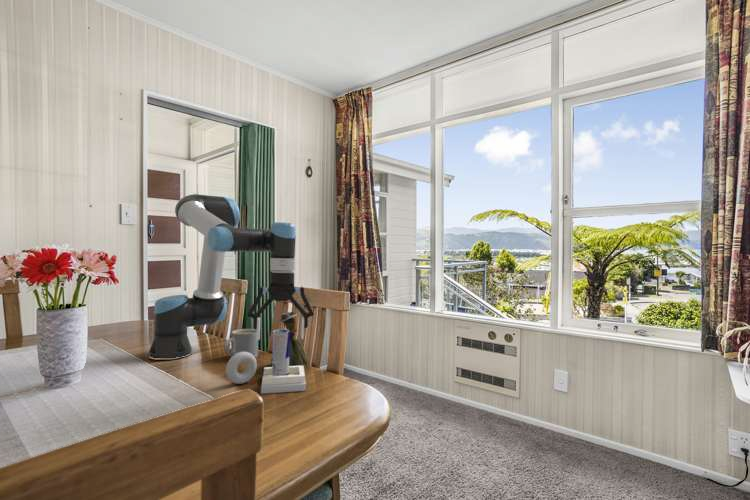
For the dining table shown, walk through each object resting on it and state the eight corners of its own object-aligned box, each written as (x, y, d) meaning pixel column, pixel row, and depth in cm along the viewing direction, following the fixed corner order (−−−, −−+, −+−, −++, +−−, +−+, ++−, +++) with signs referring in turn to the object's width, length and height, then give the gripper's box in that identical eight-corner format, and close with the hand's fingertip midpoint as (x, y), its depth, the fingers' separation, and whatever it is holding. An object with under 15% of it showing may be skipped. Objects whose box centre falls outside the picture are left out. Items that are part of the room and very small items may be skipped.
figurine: (286, 358, 150) (287, 307, 150) (317, 363, 144) (318, 310, 144) (261, 368, 137) (262, 312, 137) (293, 374, 131) (294, 316, 131)
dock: (264, 376, 129) (264, 364, 129) (303, 374, 132) (303, 362, 132) (260, 393, 114) (261, 380, 114) (305, 390, 117) (305, 377, 117)
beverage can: (292, 375, 123) (292, 329, 123) (283, 381, 118) (283, 333, 118) (278, 373, 125) (278, 327, 124) (268, 379, 120) (269, 331, 120)
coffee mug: (252, 352, 159) (252, 327, 159) (261, 357, 151) (261, 332, 152) (218, 357, 151) (219, 331, 151) (226, 363, 143) (227, 336, 143)
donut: (253, 378, 127) (254, 348, 127) (258, 381, 124) (259, 350, 124) (223, 385, 120) (224, 353, 120) (228, 388, 117) (228, 355, 117)
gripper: (239, 271, 115) (237, 342, 116) (323, 272, 121) (321, 340, 121) (242, 270, 123) (240, 336, 123) (321, 271, 128) (319, 334, 128)
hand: (280, 338), depth 122 cm, fingers open, 13 cm apart
